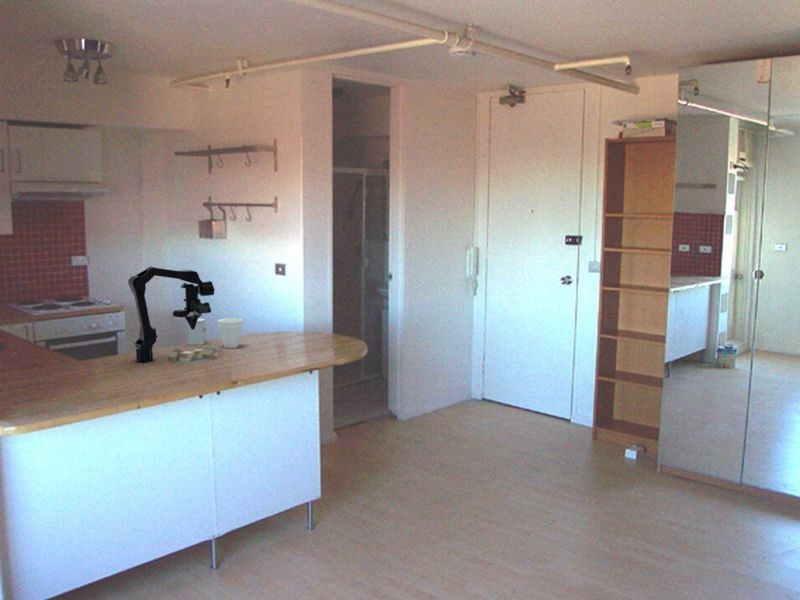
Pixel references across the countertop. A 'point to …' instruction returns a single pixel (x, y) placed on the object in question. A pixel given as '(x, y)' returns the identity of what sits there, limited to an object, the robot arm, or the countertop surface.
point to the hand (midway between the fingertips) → (192, 329)
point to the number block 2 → (210, 353)
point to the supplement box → (197, 333)
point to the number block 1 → (174, 355)
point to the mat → (194, 361)
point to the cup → (230, 331)
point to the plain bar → (191, 355)
